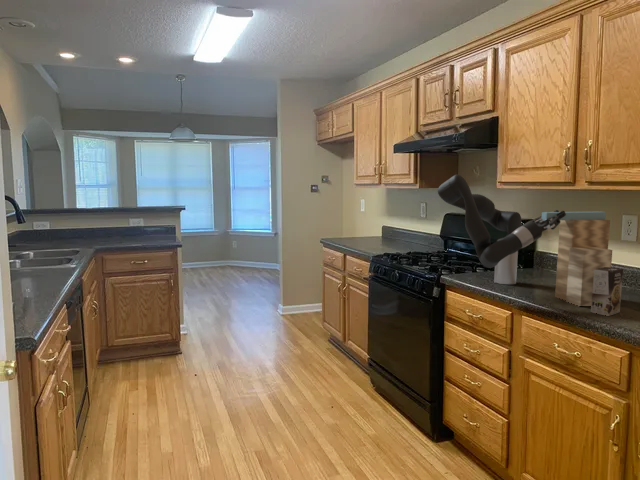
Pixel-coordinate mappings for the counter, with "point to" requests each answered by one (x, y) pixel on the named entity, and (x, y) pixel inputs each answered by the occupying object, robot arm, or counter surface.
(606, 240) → the wooden tall block
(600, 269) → the coffee box
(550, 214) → the bar
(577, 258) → the beige tall block
